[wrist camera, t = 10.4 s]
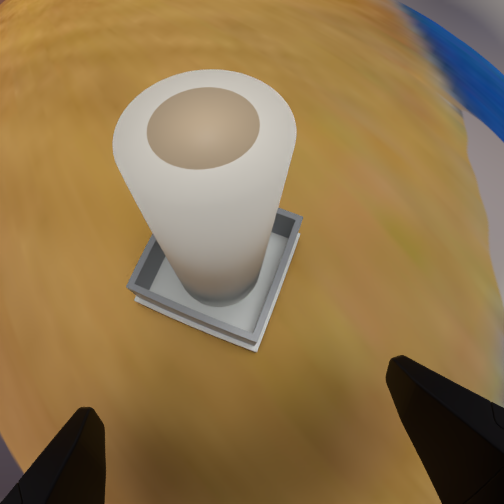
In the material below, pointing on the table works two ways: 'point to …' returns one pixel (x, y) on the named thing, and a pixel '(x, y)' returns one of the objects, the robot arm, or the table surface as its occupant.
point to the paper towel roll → (208, 175)
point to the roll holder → (229, 317)
